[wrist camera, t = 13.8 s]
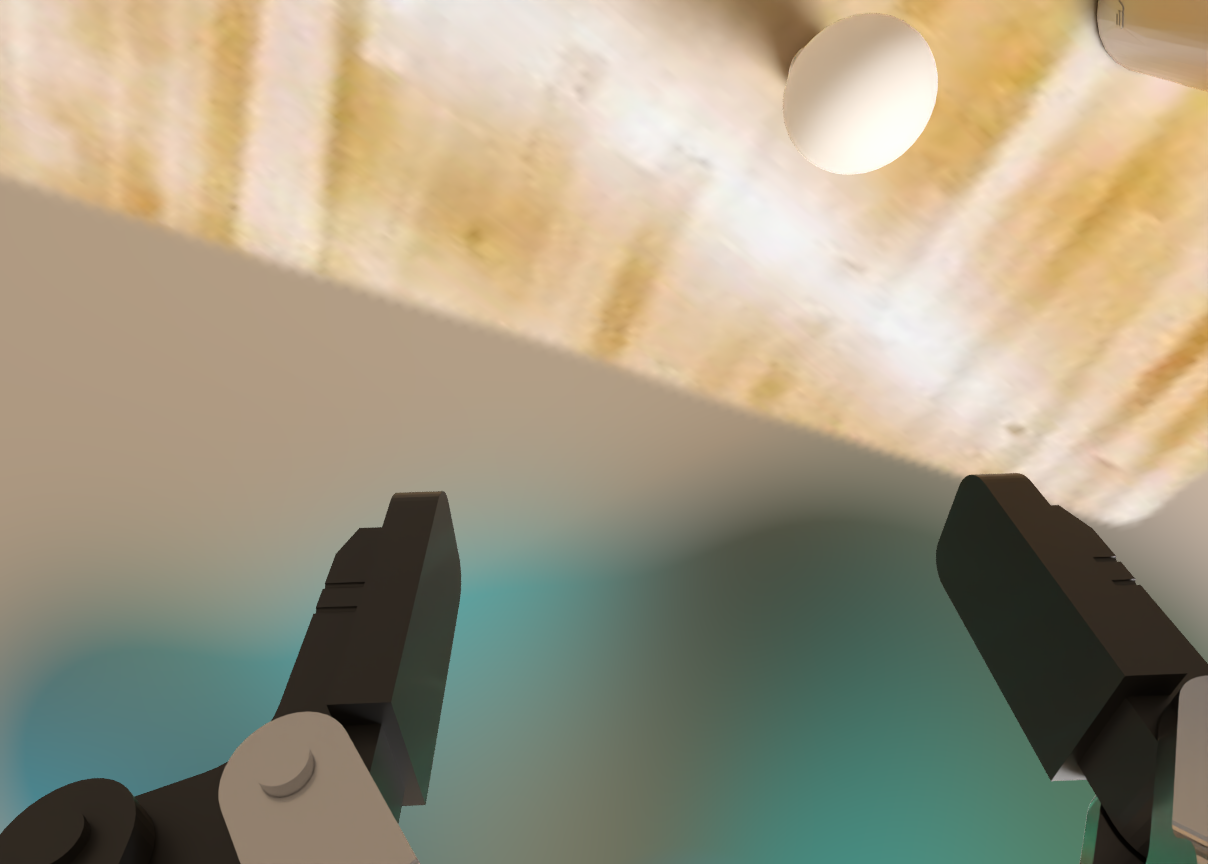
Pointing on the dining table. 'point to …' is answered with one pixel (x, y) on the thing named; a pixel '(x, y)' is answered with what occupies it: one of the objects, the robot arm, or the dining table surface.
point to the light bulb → (860, 93)
